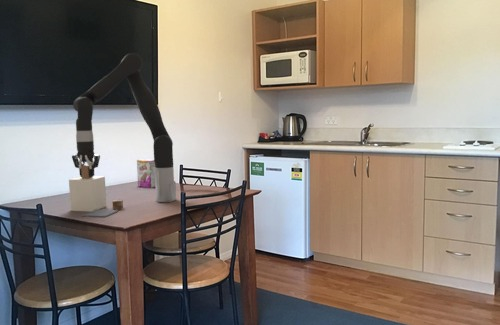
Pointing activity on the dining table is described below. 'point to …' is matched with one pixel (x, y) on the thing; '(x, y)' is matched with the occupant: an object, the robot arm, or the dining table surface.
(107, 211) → the mat
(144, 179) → the candy bar box
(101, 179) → the cover
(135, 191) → the dining table surface
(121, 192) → the dining table surface
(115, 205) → the walnut block
